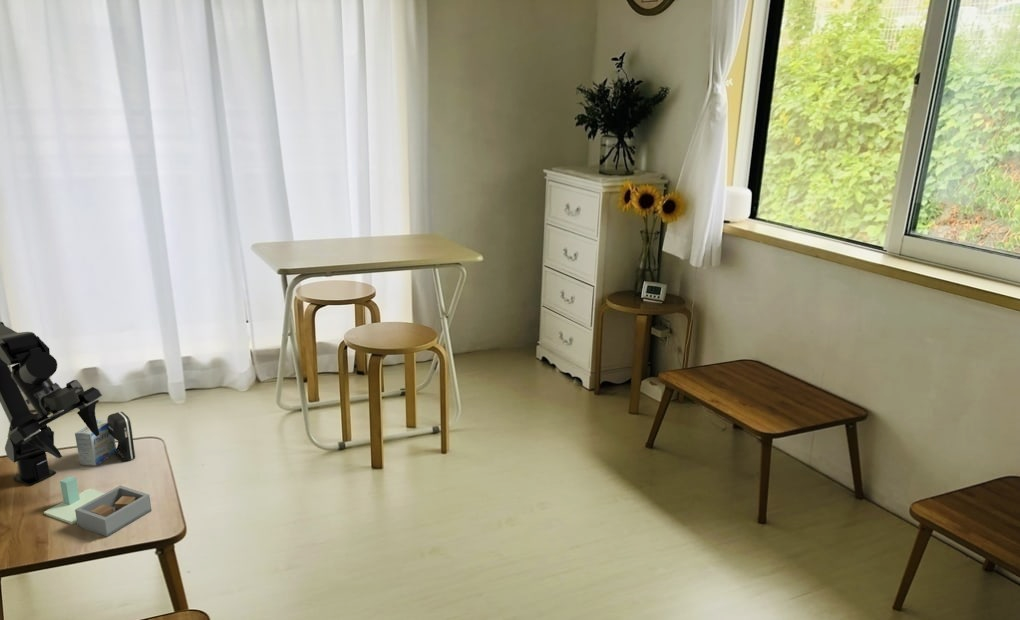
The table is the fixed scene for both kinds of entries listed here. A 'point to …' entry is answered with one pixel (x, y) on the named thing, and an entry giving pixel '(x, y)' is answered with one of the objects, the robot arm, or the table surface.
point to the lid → (71, 500)
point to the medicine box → (95, 444)
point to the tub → (117, 518)
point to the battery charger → (122, 435)
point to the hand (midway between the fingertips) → (79, 446)
